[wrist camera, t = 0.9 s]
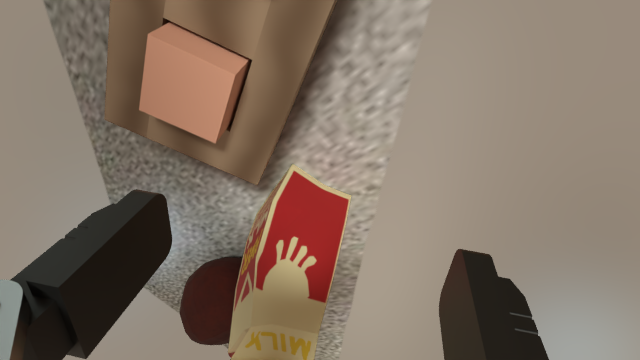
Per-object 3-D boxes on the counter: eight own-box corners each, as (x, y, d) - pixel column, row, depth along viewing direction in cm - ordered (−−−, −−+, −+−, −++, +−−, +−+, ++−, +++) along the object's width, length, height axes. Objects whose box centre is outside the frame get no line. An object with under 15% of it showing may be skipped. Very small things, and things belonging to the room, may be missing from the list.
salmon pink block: (165, 88, 31) (139, 109, 27) (176, 18, 27) (147, 34, 24) (233, 118, 31) (215, 143, 28) (253, 54, 28) (235, 74, 24)
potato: (301, 278, 51) (284, 350, 43) (234, 300, 57) (207, 368, 49) (249, 224, 46) (217, 295, 38) (181, 255, 52) (141, 322, 44)
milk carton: (256, 213, 45) (181, 384, 29) (289, 161, 39) (218, 337, 24) (322, 246, 46) (285, 425, 31) (362, 200, 41) (341, 389, 25)
